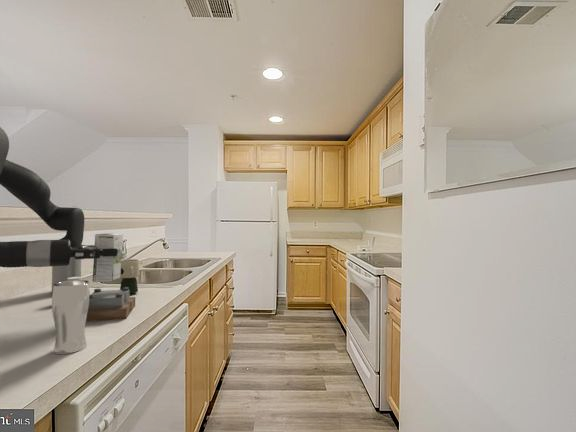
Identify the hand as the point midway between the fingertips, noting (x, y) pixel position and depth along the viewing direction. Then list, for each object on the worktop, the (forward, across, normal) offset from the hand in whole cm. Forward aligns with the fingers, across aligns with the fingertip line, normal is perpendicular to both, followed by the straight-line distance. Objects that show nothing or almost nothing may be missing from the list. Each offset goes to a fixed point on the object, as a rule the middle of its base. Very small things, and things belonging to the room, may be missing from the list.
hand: (116, 250), depth 93 cm
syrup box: (-2, 0, +9) cm, 9 cm away
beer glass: (-10, -23, +20) cm, 32 cm away
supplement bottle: (-11, +21, +20) cm, 31 cm away
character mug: (+7, +23, +19) cm, 31 cm away
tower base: (-2, 0, +19) cm, 19 cm away
